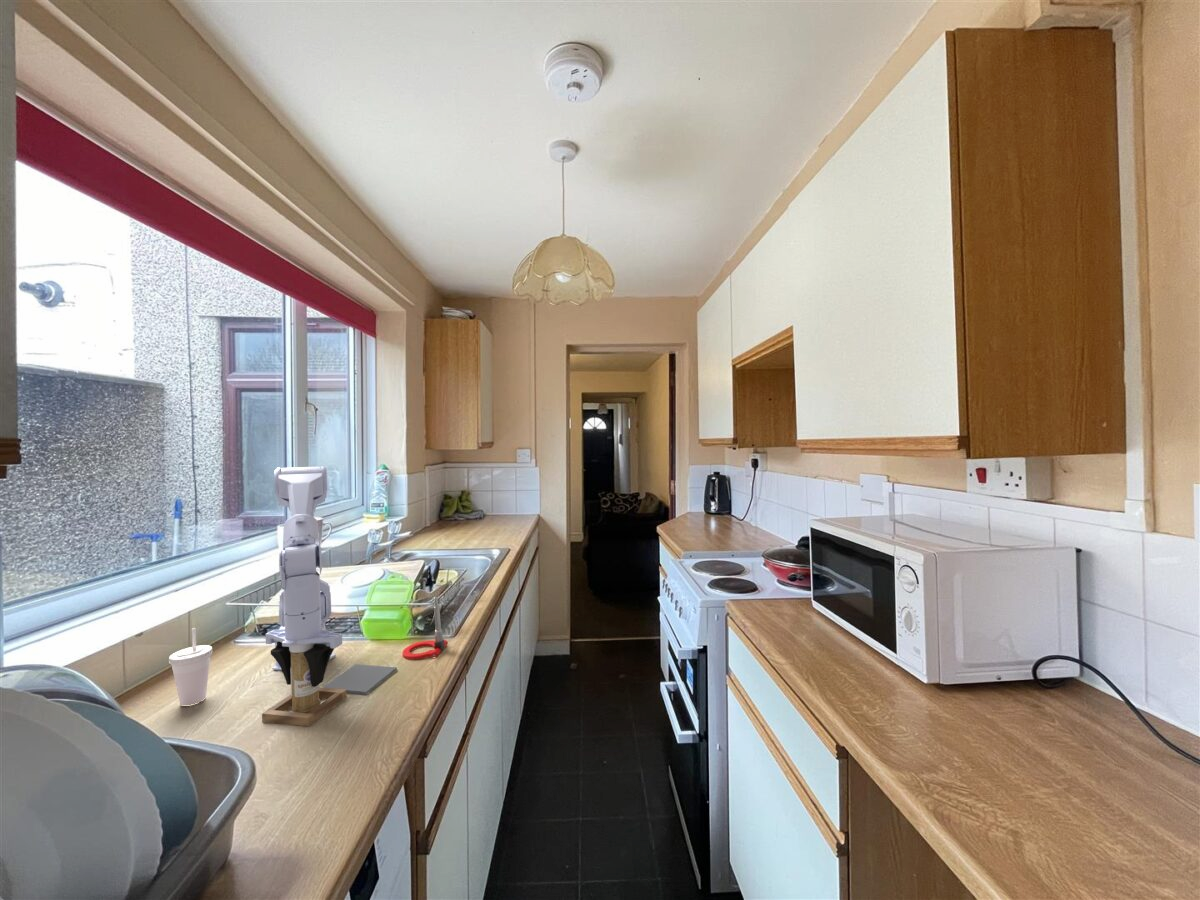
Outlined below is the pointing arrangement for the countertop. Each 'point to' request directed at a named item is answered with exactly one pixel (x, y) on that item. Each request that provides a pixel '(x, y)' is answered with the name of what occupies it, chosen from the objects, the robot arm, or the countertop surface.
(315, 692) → the sprinkles bottle
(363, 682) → the coaster
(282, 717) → the collar
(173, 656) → the smoothie
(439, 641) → the tow hook
